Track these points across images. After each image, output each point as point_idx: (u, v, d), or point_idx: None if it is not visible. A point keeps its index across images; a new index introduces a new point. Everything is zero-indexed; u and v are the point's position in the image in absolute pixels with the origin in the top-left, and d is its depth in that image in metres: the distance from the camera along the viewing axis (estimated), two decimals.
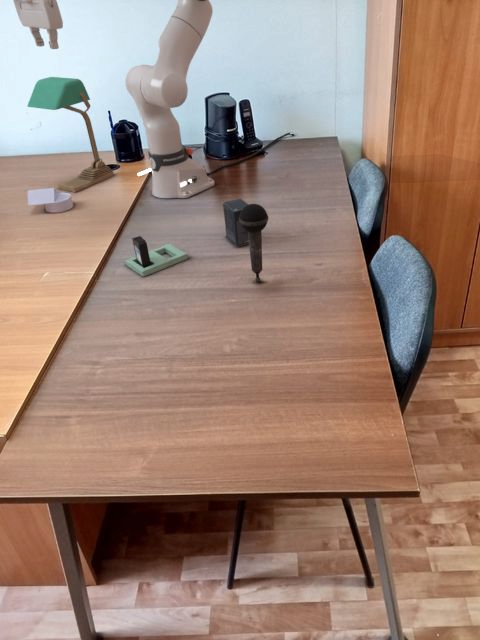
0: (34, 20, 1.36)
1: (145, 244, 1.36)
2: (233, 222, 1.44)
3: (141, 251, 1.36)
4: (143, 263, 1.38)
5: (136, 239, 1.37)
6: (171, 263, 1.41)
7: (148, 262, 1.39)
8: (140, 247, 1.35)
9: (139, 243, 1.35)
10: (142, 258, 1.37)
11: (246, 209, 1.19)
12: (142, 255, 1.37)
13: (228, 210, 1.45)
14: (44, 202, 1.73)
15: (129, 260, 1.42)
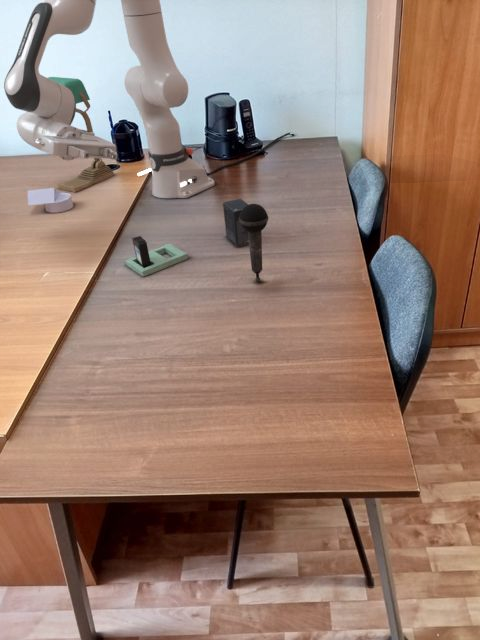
0: None
1: (145, 244, 1.36)
2: (233, 222, 1.44)
3: (141, 251, 1.36)
4: (143, 263, 1.38)
5: (136, 239, 1.37)
6: (171, 263, 1.41)
7: (148, 262, 1.39)
8: (140, 247, 1.35)
9: (139, 243, 1.35)
10: (142, 258, 1.37)
11: (246, 209, 1.19)
12: (142, 255, 1.37)
13: (228, 210, 1.45)
14: (44, 202, 1.73)
15: (129, 260, 1.42)
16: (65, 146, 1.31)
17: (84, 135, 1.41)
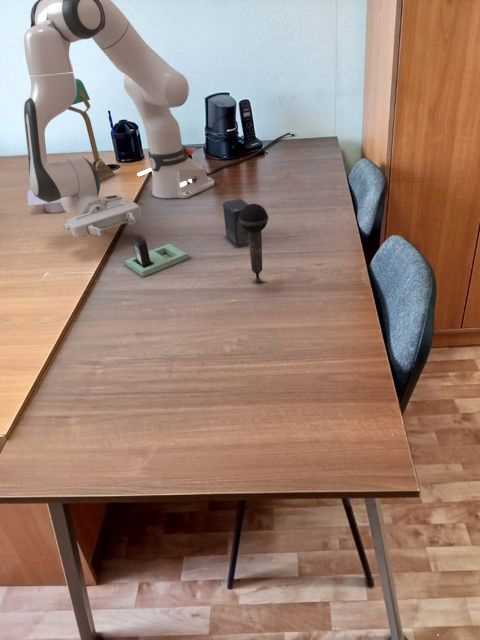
0: None
1: (145, 244, 1.36)
2: (233, 222, 1.44)
3: (141, 251, 1.36)
4: (143, 263, 1.38)
5: (136, 239, 1.37)
6: (171, 263, 1.41)
7: (148, 262, 1.39)
8: (140, 247, 1.35)
9: (139, 243, 1.35)
10: (142, 258, 1.37)
11: (246, 209, 1.19)
12: (142, 255, 1.37)
13: (228, 210, 1.45)
14: (44, 202, 1.73)
15: (129, 260, 1.42)
16: (84, 227, 1.42)
17: (109, 203, 1.50)
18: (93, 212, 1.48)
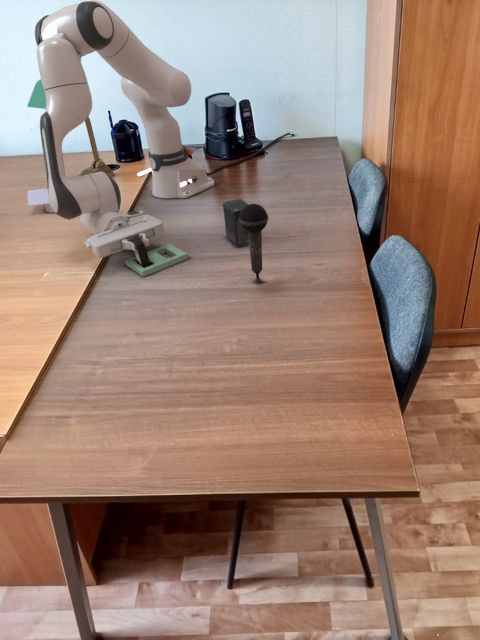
0: None
1: (143, 244, 1.35)
2: (233, 222, 1.44)
3: (139, 251, 1.36)
4: (142, 263, 1.38)
5: (133, 240, 1.36)
6: (171, 263, 1.41)
7: (147, 262, 1.38)
8: (138, 248, 1.35)
9: (136, 244, 1.35)
10: (141, 258, 1.37)
11: (246, 209, 1.19)
12: (140, 255, 1.36)
13: (228, 210, 1.45)
14: (44, 202, 1.73)
15: (129, 260, 1.42)
16: (107, 246, 1.36)
17: (131, 220, 1.44)
18: (115, 229, 1.41)
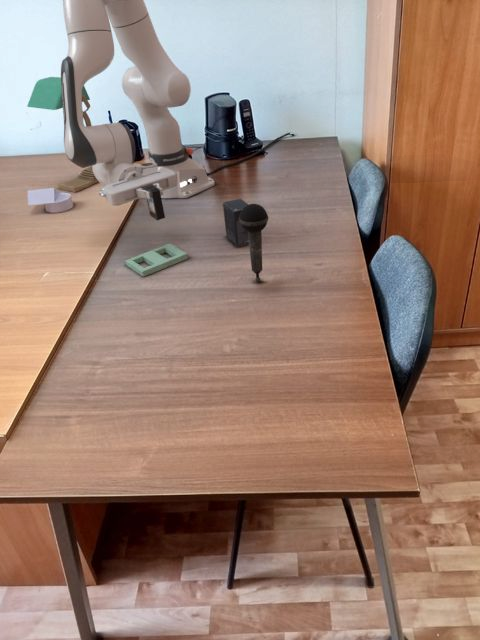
0: None
1: (158, 192, 1.36)
2: (233, 222, 1.44)
3: (155, 199, 1.36)
4: (157, 212, 1.38)
5: (149, 188, 1.37)
6: (171, 263, 1.41)
7: (161, 211, 1.39)
8: (153, 195, 1.36)
9: (152, 191, 1.36)
10: (156, 206, 1.38)
11: (246, 209, 1.19)
12: (155, 203, 1.37)
13: (228, 210, 1.45)
14: (44, 202, 1.73)
15: (129, 260, 1.42)
16: (122, 194, 1.36)
17: (145, 171, 1.45)
18: (129, 179, 1.42)
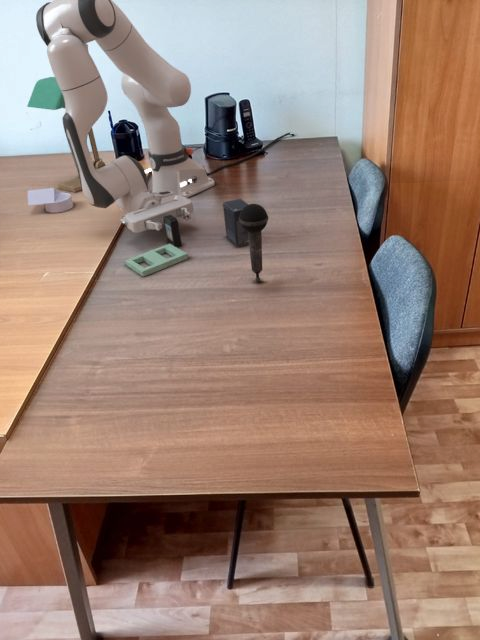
0: None
1: (176, 221, 1.46)
2: (233, 222, 1.44)
3: (173, 228, 1.46)
4: (174, 240, 1.48)
5: (167, 217, 1.47)
6: (171, 263, 1.41)
7: (178, 239, 1.49)
8: (172, 224, 1.46)
9: (171, 220, 1.45)
10: (173, 235, 1.47)
11: (246, 209, 1.19)
12: (173, 232, 1.47)
13: (227, 210, 1.45)
14: (44, 202, 1.73)
15: (129, 260, 1.42)
16: (142, 222, 1.46)
17: (163, 199, 1.55)
18: (149, 207, 1.52)
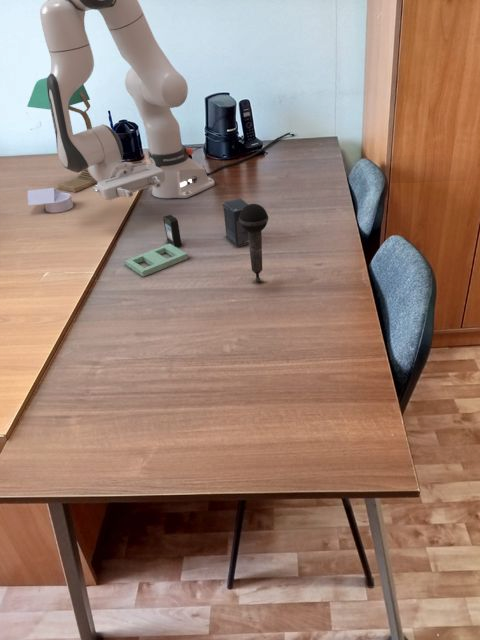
0: None
1: (176, 221, 1.46)
2: (233, 222, 1.44)
3: (173, 228, 1.46)
4: (174, 239, 1.48)
5: (167, 217, 1.47)
6: (171, 263, 1.41)
7: (178, 239, 1.49)
8: (172, 224, 1.46)
9: (171, 220, 1.45)
10: (173, 235, 1.47)
11: (246, 209, 1.19)
12: (173, 232, 1.47)
13: (227, 210, 1.45)
14: (44, 202, 1.73)
15: (129, 260, 1.42)
16: (113, 189, 1.51)
17: (135, 168, 1.59)
18: (120, 176, 1.56)
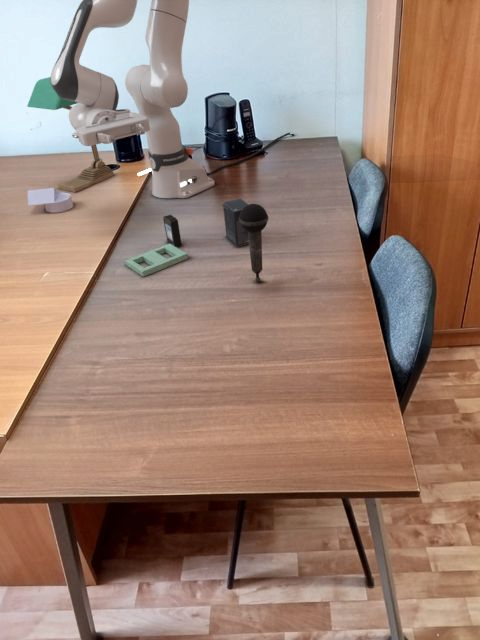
0: None
1: (176, 221, 1.46)
2: (233, 222, 1.44)
3: (173, 228, 1.46)
4: (174, 239, 1.48)
5: (167, 217, 1.47)
6: (171, 263, 1.41)
7: (178, 239, 1.49)
8: (172, 224, 1.46)
9: (171, 220, 1.45)
10: (173, 235, 1.47)
11: (246, 209, 1.19)
12: (173, 232, 1.47)
13: (227, 210, 1.45)
14: (44, 202, 1.73)
15: (129, 260, 1.42)
16: (94, 134, 1.41)
17: (118, 115, 1.50)
18: (102, 123, 1.47)
